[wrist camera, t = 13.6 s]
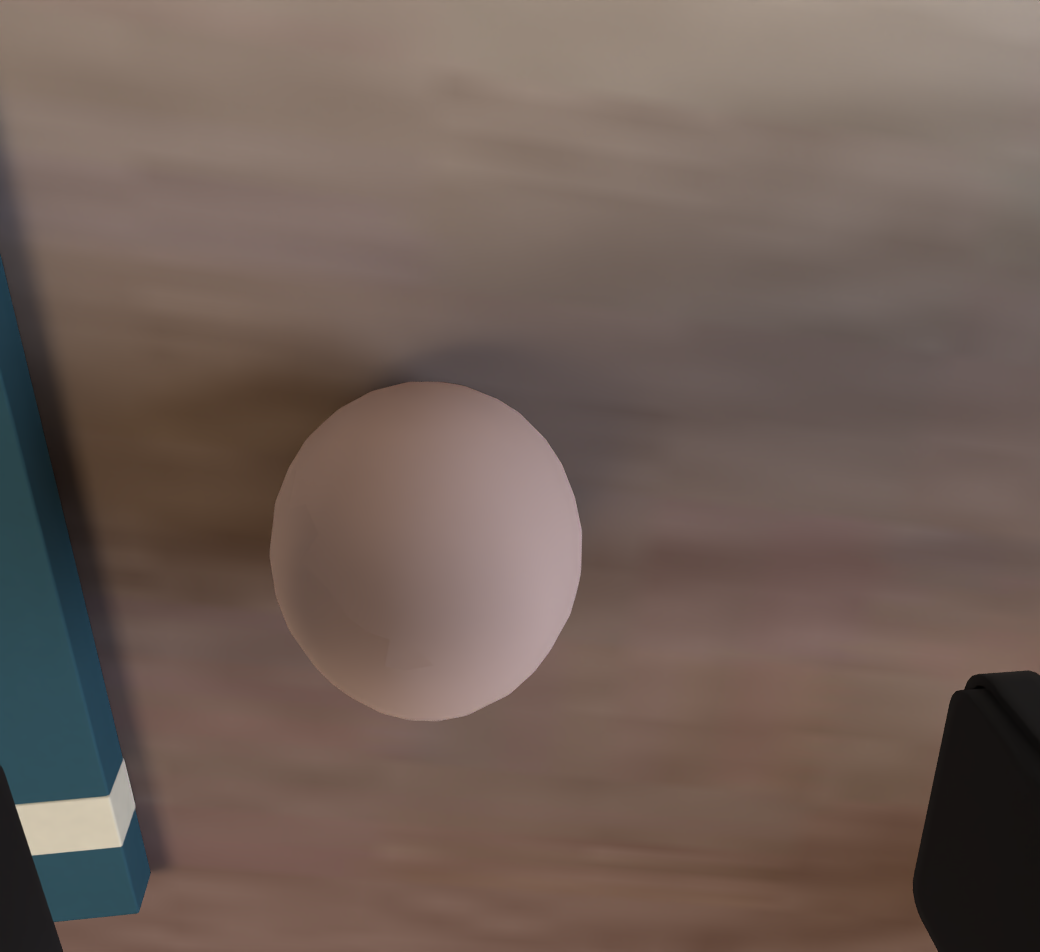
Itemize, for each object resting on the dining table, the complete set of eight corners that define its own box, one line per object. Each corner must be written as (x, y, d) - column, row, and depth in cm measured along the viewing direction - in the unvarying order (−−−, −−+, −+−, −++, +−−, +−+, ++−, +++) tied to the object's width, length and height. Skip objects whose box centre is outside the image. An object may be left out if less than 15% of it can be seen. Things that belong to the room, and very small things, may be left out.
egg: (434, 620, 21) (449, 865, 15) (236, 476, 19) (158, 688, 13) (606, 452, 20) (697, 643, 14) (411, 280, 18) (416, 414, 12)
